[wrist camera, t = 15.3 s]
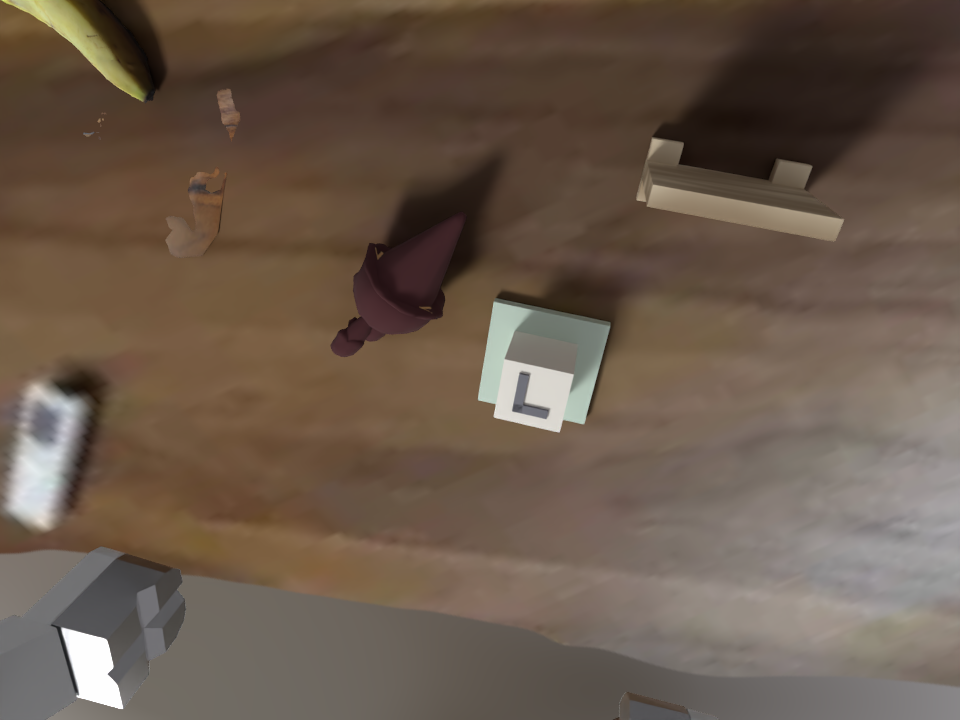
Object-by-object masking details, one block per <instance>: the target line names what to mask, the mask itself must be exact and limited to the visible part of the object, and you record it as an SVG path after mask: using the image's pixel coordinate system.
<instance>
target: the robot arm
mask: <svg viewBox="0 0 960 720" xmlns="http://www.w3.org/2000/svg"><path fill="white" fill-rule="evenodd" d="M181 584H182V577H181V571H180V569H177V568H173V567H170V566H166V565H163V564H160V563H156V562H153V561H149V560H146V559H143V558H139V557H136V556H132V555H129V554H127V553H123V552H119V551H116V550H112V549H109V548H105V547H99V548H97V549H95V550H93V551H91V552H90V553H88V554H87V555H86V556H85V557H84V558H83V559H82V560H81V561H80V562H79V563H78V564H77V565H76V566H75V567H74V568H72V570H70V571H69V572H68V573H67V574H66V575H65V576H64V577H63V578H62V579H61V580H60V581H59V582H58V583H57V584H56V585H55V586H53V587H52V589H50V590H49V591H48V592H47V593H46V594H45V595H44V596H43V597H42V598H41V599H40V600H39V601H38V602H37V603H35V604H34V605H33V606H32V607H31V608H30V609H29V610H28V611H27V612H26V613H25V614H24V615H23V616H22V617H20V616H16V615H12V616H10V617H8V618H5V619H3V620H1V621H0V720H46V719H48V718H49V717H51V716H53V715H54V714H56V713H57V712H59V711H60V710H62V709H64V708H65V707H67V706H68V705H70V704H71V703H73V702H74V701H76V700H77V697H80V698H84V699H88V700H91V701H95V702H99V703H102V704H106V705H110V706H113V707H117V708H121V709H123V708H124V707H125V705H126V704H127V703H128V701H129V700H130V699H131V697H132V696H133V695H134V694H135V692H136V691H137V690H138V688H139V687H140V686H141V684H142V683H143V681H144V680H145V679H146V678H147V676H148V675H149V661H150V660H151V659H153V658H155V657H157V656H159V655H161V654H163V653H165V652H166V651H167V650H168V648H169V647H170V645H171V644H172V643H173V641H174V640H175V639H176V637H177V635H178V632H179V630H180V628H181V626H182V624H183V621H184V617H185V611H186V606H185V599H184V598H183V596H182V595H181V594H180V593H179V592H178V591H177V589H178V587H179V586H180V585H181ZM614 720H719V719H718V717H716V716H714V715H710V714H706V713H703V712H699V711H694V710H690V709H686V708H685V707H684V706H680V705H676V704H672V703H668V702H664V701H660V700H657V699H653V698H649V697H645V696H641V695H637V694H633V693H629V692H626V693H625V694H624V695H623V696H622V699H621V701H620V703H619V717H618V718H616V719H614Z"/></svg>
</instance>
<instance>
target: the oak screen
mask: <svg viewBox="0 0 960 720" xmlns="http://www.w3.org/2000/svg"><path fill="white" fill-rule="evenodd" d="M683 146H684V143H683V142H680V141H674V140H668V139H663V138H657V137H652V139H651V143H650V147H649V150H648V154H647V158H646V162H645V166H644V170H643V173H642V177H641V181H640V185H639V189H638V192H637V196H636V199H637V200H638V201H644V202H646V203H647V207H652V208H658V209H663V210H668V211H674V212H679V213H684V214H690V215H695V216H700V217H706V218H711V219H716V220H722V221H727V222H732V223H738V224H743V225H748V226H754V227H759V228H764V229H770V230H775V231H780V232H786V233H791V234H796V235H802V236H807V237H812V238H818V239H823V240H828V241H834V242H835V240H836V238H837V235H838V233H839V231H840V228H841V226H842V224H843V221H844V219H843V218H841V217H840V216H839V215H837V214H836V213H835V212H834V211H832V210H831V209H830V208H828V207H827V206H826V205H824V204H823V203H822V202H820V201H819V200H818V199H816V198H815V197H814V196H812V195H811V194H810V193H808V192H807V191H806V190H805V189H804V187H805V185H806V182H807V180H808V177H809V174H810V172H811V169H812V166H811V165H809V164H806V163H800V162H794V161H788V160H783V159H777V158H776V161H775V163H774V166H773V169H772V172H771V174H770V177H769V180H764V179H759V178H753V177H747V176H742V175H736V174H731V173H725V172H719V171H714V170H708V169H703V168H697V167H691V166H686V165H680V164H678V163H679V160H680V156H681V153H682V150H683Z"/></svg>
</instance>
